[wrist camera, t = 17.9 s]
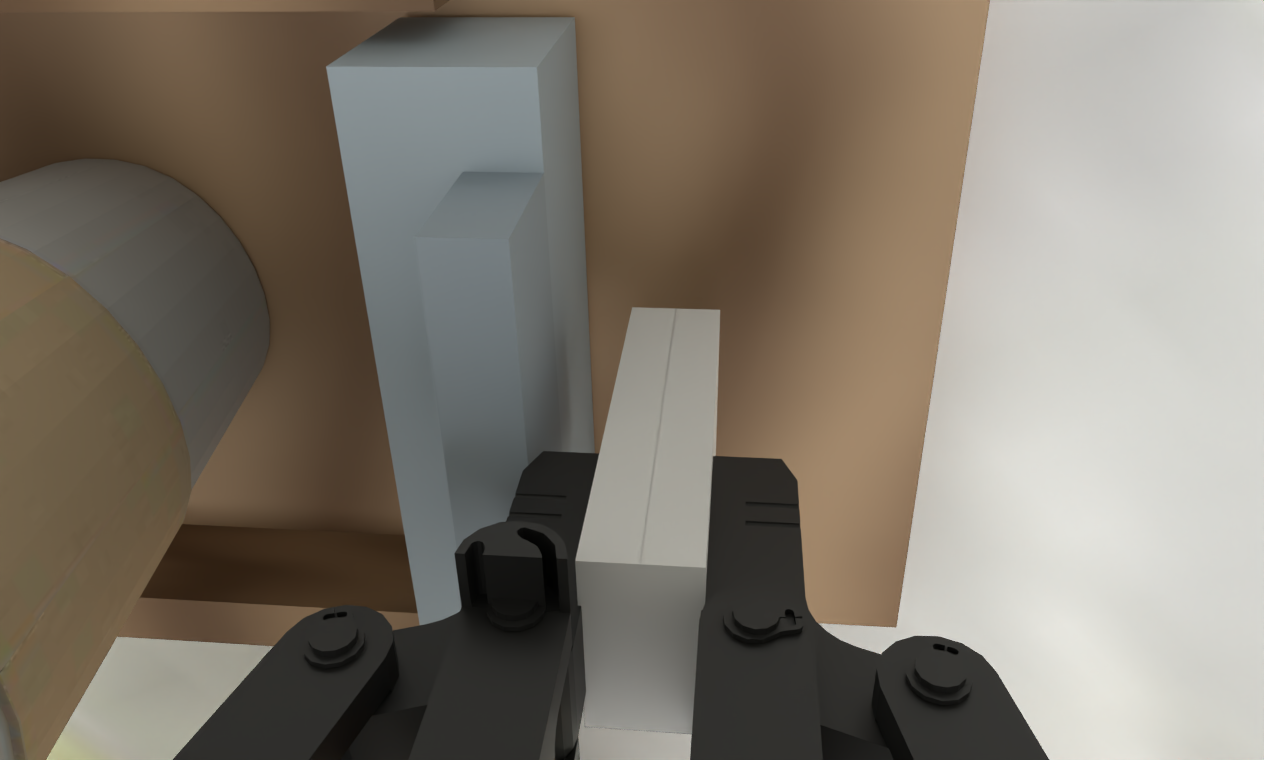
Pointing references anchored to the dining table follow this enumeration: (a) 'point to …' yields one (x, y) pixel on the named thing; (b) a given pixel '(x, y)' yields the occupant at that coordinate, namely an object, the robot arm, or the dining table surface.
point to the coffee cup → (104, 410)
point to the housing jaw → (468, 264)
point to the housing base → (614, 242)
